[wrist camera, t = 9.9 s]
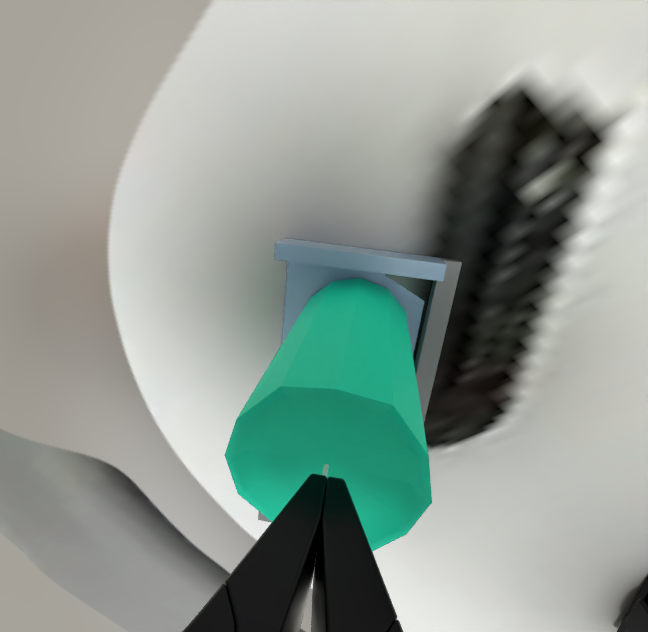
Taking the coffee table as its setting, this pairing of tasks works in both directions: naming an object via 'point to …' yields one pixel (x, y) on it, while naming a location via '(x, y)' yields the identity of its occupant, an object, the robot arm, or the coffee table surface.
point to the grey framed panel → (353, 262)
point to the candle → (339, 413)
